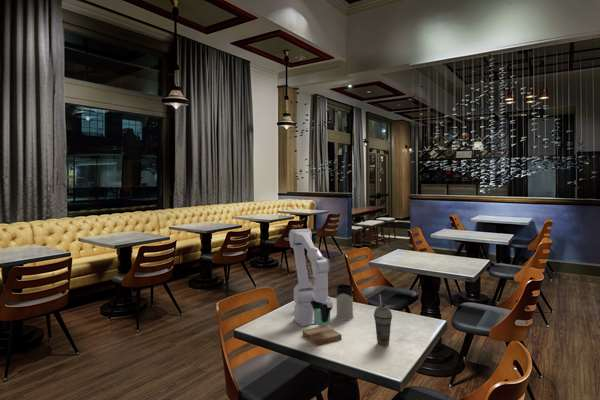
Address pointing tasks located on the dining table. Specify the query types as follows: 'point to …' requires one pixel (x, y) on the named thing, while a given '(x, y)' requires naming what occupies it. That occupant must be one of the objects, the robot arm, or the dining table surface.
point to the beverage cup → (383, 324)
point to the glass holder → (344, 302)
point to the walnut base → (322, 335)
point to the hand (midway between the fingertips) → (321, 319)
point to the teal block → (320, 318)
